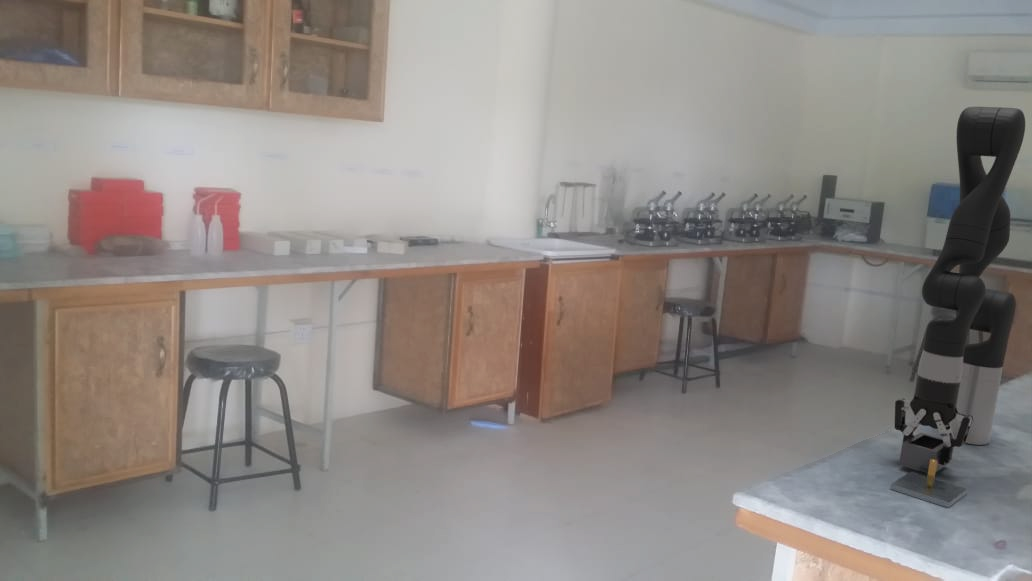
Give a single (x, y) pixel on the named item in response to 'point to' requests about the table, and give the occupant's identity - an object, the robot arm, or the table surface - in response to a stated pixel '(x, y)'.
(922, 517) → the table surface
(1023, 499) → the table surface
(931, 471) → the peg plate
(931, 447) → the grey storage bin
